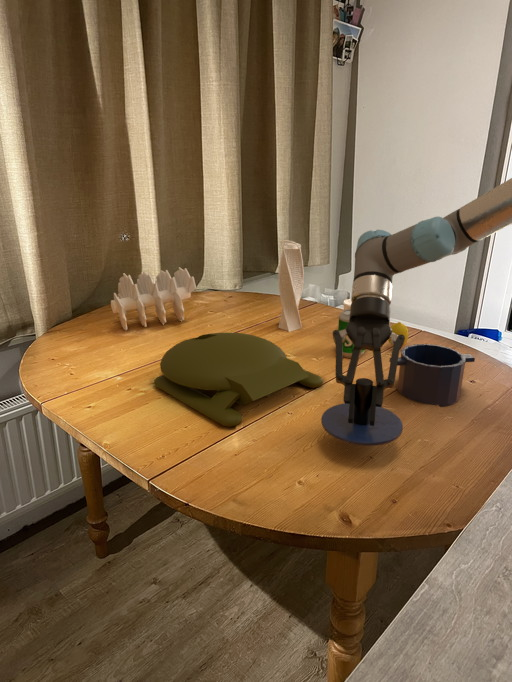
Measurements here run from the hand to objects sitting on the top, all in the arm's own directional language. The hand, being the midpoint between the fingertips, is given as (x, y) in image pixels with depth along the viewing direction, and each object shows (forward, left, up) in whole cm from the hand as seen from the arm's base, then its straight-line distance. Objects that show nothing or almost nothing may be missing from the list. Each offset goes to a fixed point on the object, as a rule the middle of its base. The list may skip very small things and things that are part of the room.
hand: (361, 422), depth 87 cm
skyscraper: (+73, 0, -8) cm, 73 cm away
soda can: (+50, -13, -8) cm, 52 cm away
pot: (+25, -24, -8) cm, 36 cm away
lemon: (+52, -27, -8) cm, 59 cm away
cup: (+66, -20, -8) cm, 69 cm away
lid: (+4, -1, -3) cm, 5 cm away
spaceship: (+36, +21, -8) cm, 42 cm away
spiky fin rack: (+82, +43, -8) cm, 93 cm away
